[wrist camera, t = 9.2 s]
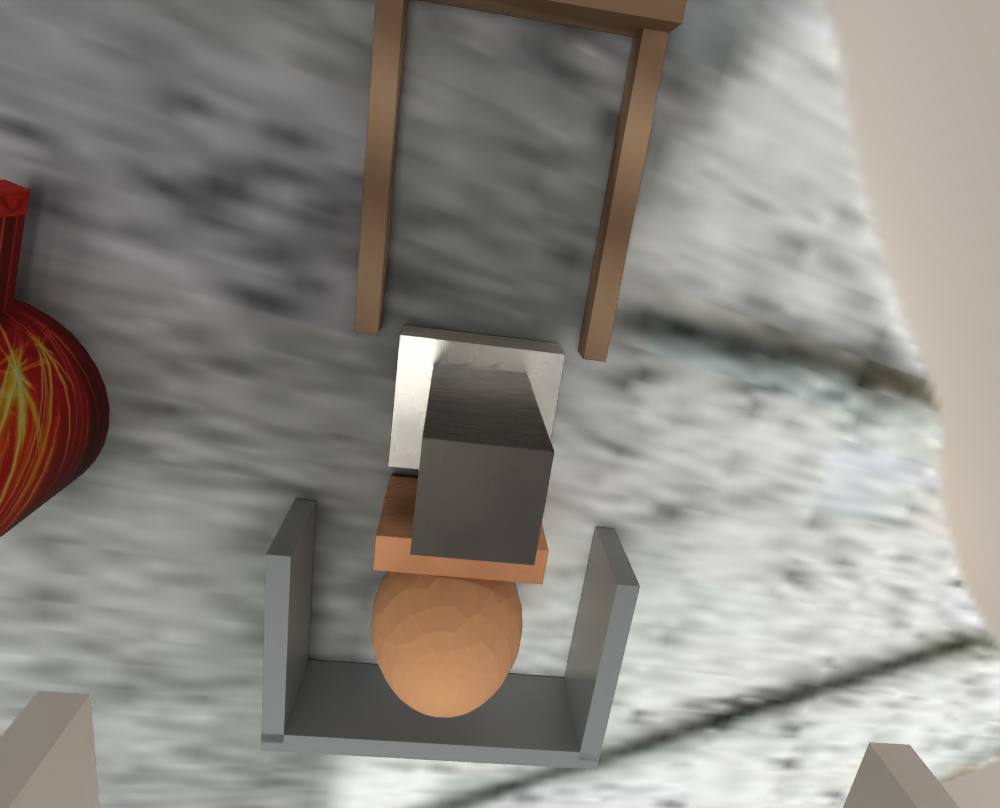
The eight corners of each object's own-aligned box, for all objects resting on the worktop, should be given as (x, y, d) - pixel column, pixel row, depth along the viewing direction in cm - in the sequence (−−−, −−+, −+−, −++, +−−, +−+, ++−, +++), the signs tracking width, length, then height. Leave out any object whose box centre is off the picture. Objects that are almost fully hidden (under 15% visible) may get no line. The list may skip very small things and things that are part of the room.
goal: (295, 498, 32) (266, 554, 27) (614, 528, 33) (639, 586, 28) (288, 673, 35) (261, 750, 30) (579, 693, 36) (596, 769, 32)
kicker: (404, 325, 29) (373, 400, 19) (558, 343, 30) (608, 426, 20) (387, 505, 32) (354, 654, 22) (529, 518, 32) (559, 669, 22)
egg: (528, 520, 33) (551, 637, 24) (499, 630, 35) (511, 774, 26) (394, 497, 32) (370, 611, 23) (373, 612, 34) (344, 754, 26)
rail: (383, -36, 25) (373, -65, 22) (663, 12, 26) (688, -9, 23) (359, 324, 29) (348, 339, 26) (598, 353, 30) (613, 370, 27)
